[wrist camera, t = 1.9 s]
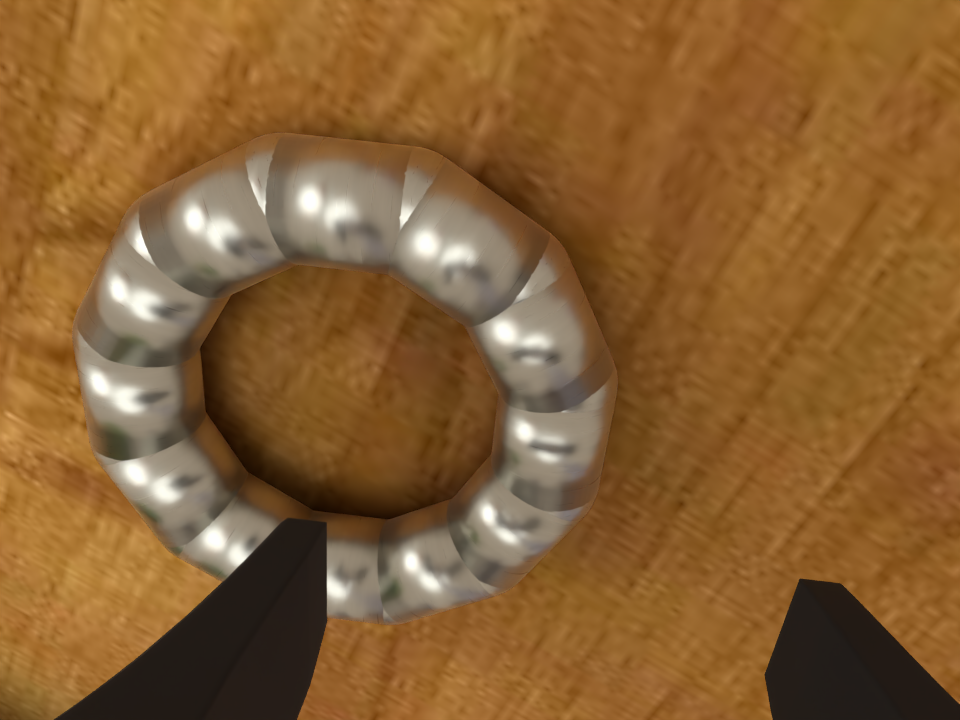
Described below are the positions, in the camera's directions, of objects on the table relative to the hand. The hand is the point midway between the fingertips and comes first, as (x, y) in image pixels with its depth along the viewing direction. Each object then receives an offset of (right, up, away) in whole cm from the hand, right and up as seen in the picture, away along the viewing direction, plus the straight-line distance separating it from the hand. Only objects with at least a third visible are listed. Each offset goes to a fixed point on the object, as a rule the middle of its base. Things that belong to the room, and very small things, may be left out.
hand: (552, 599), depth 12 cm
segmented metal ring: (-4, +3, +5) cm, 7 cm away
